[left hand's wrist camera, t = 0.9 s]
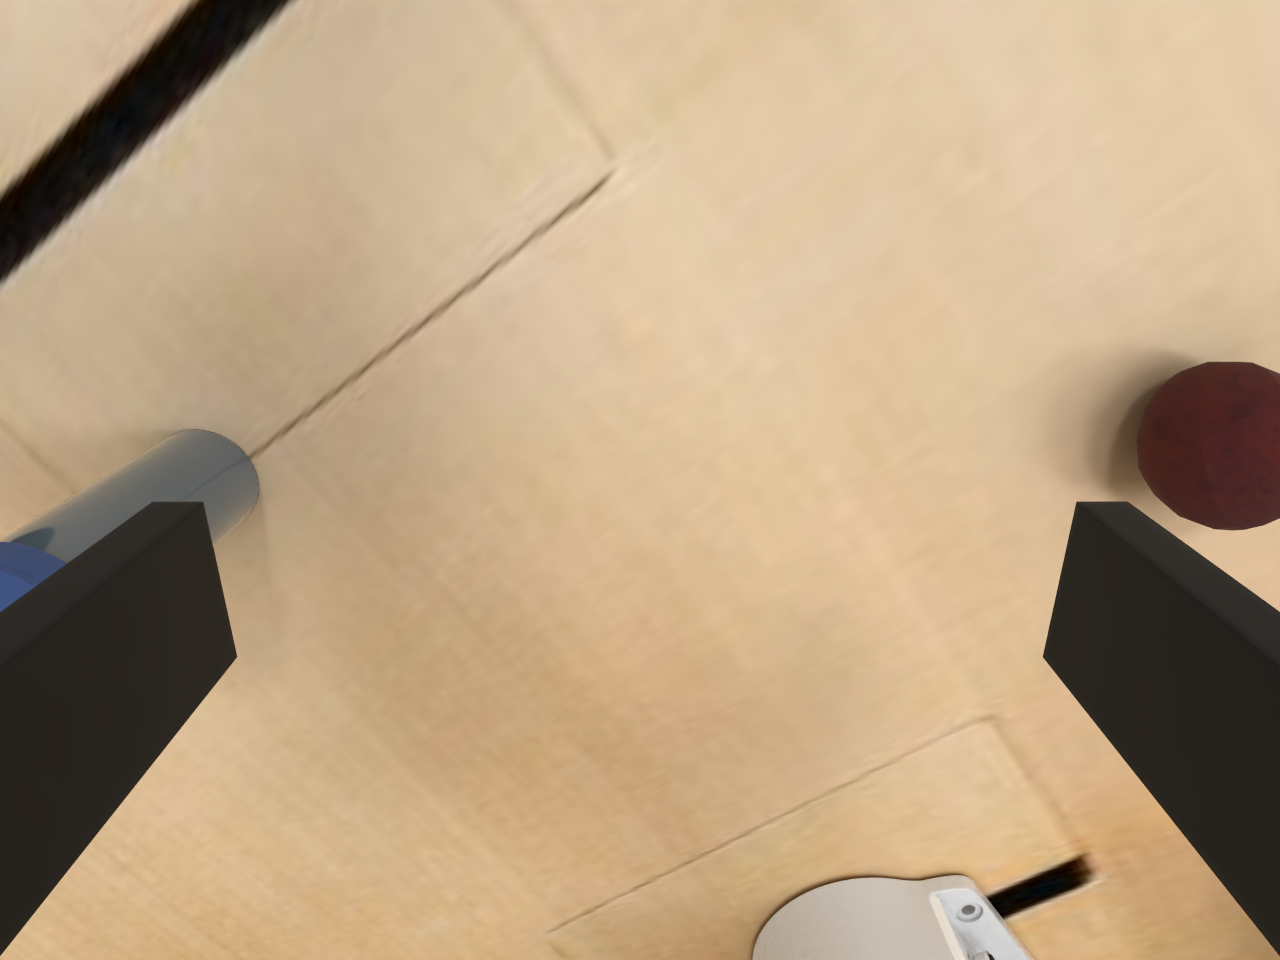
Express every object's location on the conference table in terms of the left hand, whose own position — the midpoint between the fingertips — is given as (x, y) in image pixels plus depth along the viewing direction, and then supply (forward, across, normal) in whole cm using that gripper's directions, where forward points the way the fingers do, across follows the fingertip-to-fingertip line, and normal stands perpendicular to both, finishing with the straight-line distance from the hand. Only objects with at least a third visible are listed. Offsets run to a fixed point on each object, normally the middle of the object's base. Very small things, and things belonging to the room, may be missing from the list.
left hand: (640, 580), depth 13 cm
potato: (+28, +27, -6) cm, 39 cm away
